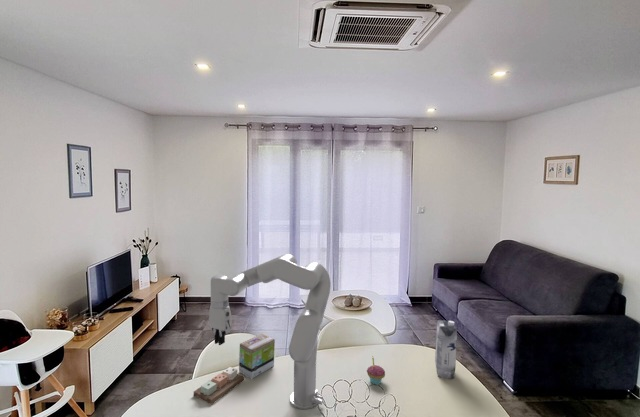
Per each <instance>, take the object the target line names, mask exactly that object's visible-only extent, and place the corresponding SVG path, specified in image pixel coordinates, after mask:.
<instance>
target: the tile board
mask: <svg viewBox="0 0 640 417" xmlns="http://www.w3.org/2000/svg"><path fill="white" fill-rule="evenodd" d="M220 374H223V372H221V373H220ZM209 381H211V382H212V379H210V380H209ZM244 381H245V375H242V374H240V373H237V376H236V377H235V378H233V379H232V380H228V379H227V383H226V384H225V385H223V386H222V387H220V388H219V387H217V390H216V391H215V392H213V393H212V394H210V395H209V396H207V395H205V394H203V393H201V386H200V387H199V388H197V389H195V390H194V391H193V397H194V398H197V399H199V400H201V401H203V402H206V403H207V404H209V405H213V404H214V403H216V402H217V401H219V400H220V399H221V398H223V397H224V396H225V395H227V394H228V393H230V392H231V391H232V390H233V389H235V388H236V387H237V386H239V385H240V384H242V383H243V382H244Z"/></svg>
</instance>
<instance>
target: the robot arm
mask: <svg viewBox="0 0 640 417" xmlns="http://www.w3.org/2000/svg"><path fill="white" fill-rule="evenodd" d="M275 280H276V281H277V280H279V281H281V282H283V283H287V284H289V285H291V286H294V287H295V288H296V287H297V288H298V289H299V288H300V289H302V290H305V291H308V290H309V291H308V295H307V298H306V302H305V306H304V308H303V310H302V311H301V313H300V315H299V316H298V318H297V320H296V322H295V326H294V329H293V332H292V335H291V338H290V343H289V345H288V353H289V356H290V358H291V360H292V361H293V392H291V394H290V396H289V402H290V405H292V406H293V407H294V408H296V409H299V410H308V409H312V408H314V407H316V406H317V405H320V406H322V405H323V403H324V395H320V394H319V390H318V389H316V388H317V387H316V386H317V385H316V384H317V380H316V379H317V353H318V352H317V351H318V342H319V341H318V338H319V337H318V334H319V331H320V329H321V326H322V324H323V320H324V315H325V312H326V308H327V304H328V300H329V298H330V293H331V285H332V284H331V278H330V274H329V272H328V271H327V269H326V268H325V267H324V265H322V264H321V263H319V262H314V261H313V262H310V263H308V264H306V265H305V266H302V265H299V264H298V261H297V259H296V257H295V256H294V255H293V254H290V253H286V254H282V255H280V256H277V257H275V258H273V259H270V260H268V261H265V262H263V263H261V264H258V265H256V266H254V267H251V268H248V269H247V270H244V271H240V272H239V273H237V274H235V275H233V276H232V277H230V278H229V277H228V276H226V275H224V274H216V275H213V276H212V277H211V278H210V306H209V311H208V312H209V313H208V327H209V328H210V329H211V330H212V333H213V335H214V344H215V345H217V344H218V346H221V345H223V344H225V342H226V338H225V337H226V335H227V334H229V333H230V332H231V328H232V324H233V323H232V320H233V319H232V311H231V307H230V303H229V297H235V296H237V295H239V294H240V293H242V292H243V291H245V289H247V288H249V287H252V286H254V285H257V284H259V283H263V284H268V283H271V282H273V281H275Z"/></svg>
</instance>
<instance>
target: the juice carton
mask: <svg viewBox="0 0 640 417" xmlns="http://www.w3.org/2000/svg"><path fill="white" fill-rule="evenodd" d="M455 323H456V322H455V321H453V320H445V319H444V320H443V319H438V320H437V324H436V334H435V356H434V363H435V369H436V374H437V377H439V378H444V379H450V380H453V379H454V378H455V374H456V364H457V363H456V362H457V360H456V359H457V344H458V332H457V327H456V326H455V325H456V324H455Z"/></svg>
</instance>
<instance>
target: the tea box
mask: <svg viewBox="0 0 640 417" xmlns="http://www.w3.org/2000/svg"><path fill="white" fill-rule="evenodd" d="M275 341H276V339H275V338H272V337H270V336H268V335H266V334H264V333H261V334H259V335H256V336H254V337H252V338H250V339H247V340H245V341H243V342H239V352H238V353H239V354H238V355H239V357H238V362H239V363H238V372H239V374H240V373H241V375H242V374H243V376H245V377H247V378H249V379H251V380H252V379H254V378H256V377H257V376H258V375H261V374H262V373H265V372H266V371H268V370H270V369H272V368H273V367H275ZM271 367H272V368H271Z"/></svg>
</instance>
